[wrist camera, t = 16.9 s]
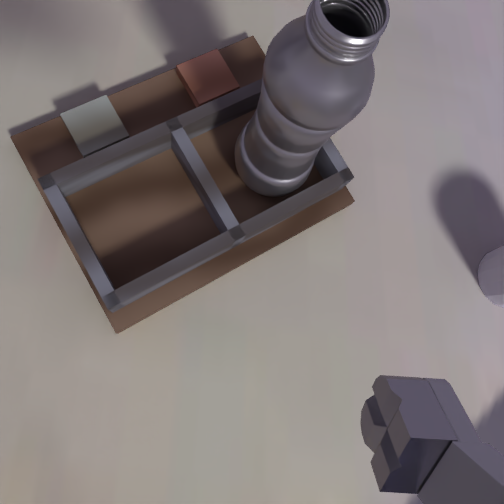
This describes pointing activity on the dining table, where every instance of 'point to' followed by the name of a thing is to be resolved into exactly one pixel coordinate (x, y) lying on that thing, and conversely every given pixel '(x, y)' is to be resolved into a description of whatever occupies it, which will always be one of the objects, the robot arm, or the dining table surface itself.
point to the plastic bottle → (309, 91)
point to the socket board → (169, 183)
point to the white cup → (492, 276)
